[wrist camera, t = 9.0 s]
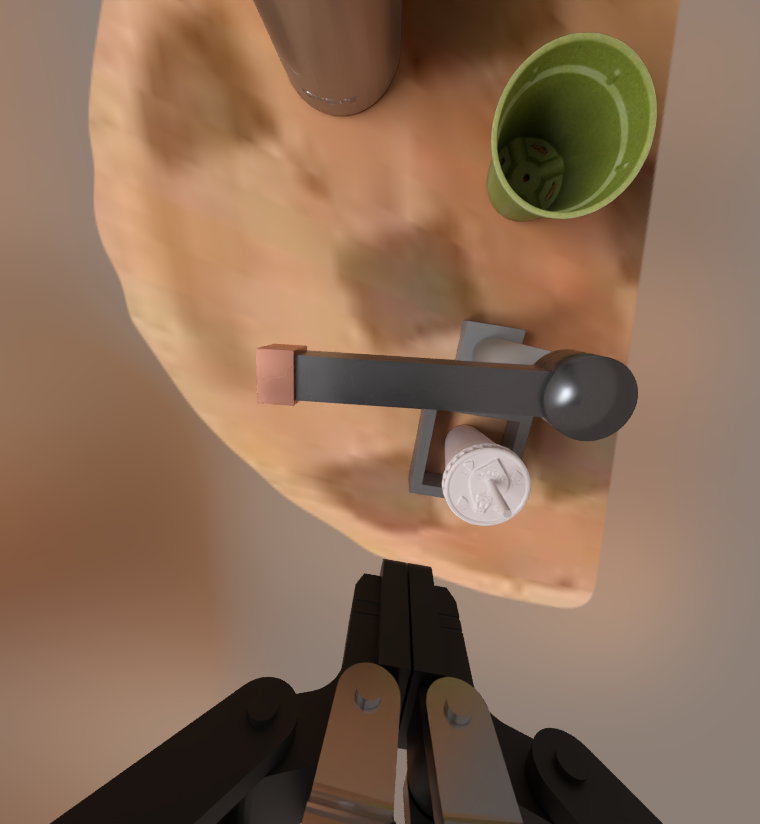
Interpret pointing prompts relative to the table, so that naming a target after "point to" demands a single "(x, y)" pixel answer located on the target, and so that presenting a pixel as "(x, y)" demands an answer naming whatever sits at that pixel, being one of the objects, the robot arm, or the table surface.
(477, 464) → the smoothie
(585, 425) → the joystick lever
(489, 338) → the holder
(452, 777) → the robot arm
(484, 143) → the table surface
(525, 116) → the plant pot
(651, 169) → the table surface
